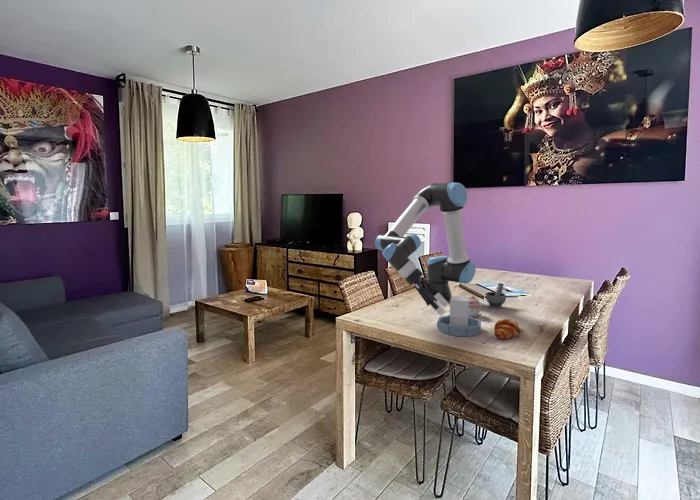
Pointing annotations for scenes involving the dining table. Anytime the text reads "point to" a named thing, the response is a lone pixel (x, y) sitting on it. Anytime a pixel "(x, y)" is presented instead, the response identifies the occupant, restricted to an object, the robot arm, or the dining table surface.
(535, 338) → the dining table surface
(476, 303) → the cupcake
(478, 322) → the octagonal dish
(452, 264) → the robot arm
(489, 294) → the mortar and pestle
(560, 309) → the dining table surface
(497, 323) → the croissant
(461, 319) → the supplement box
